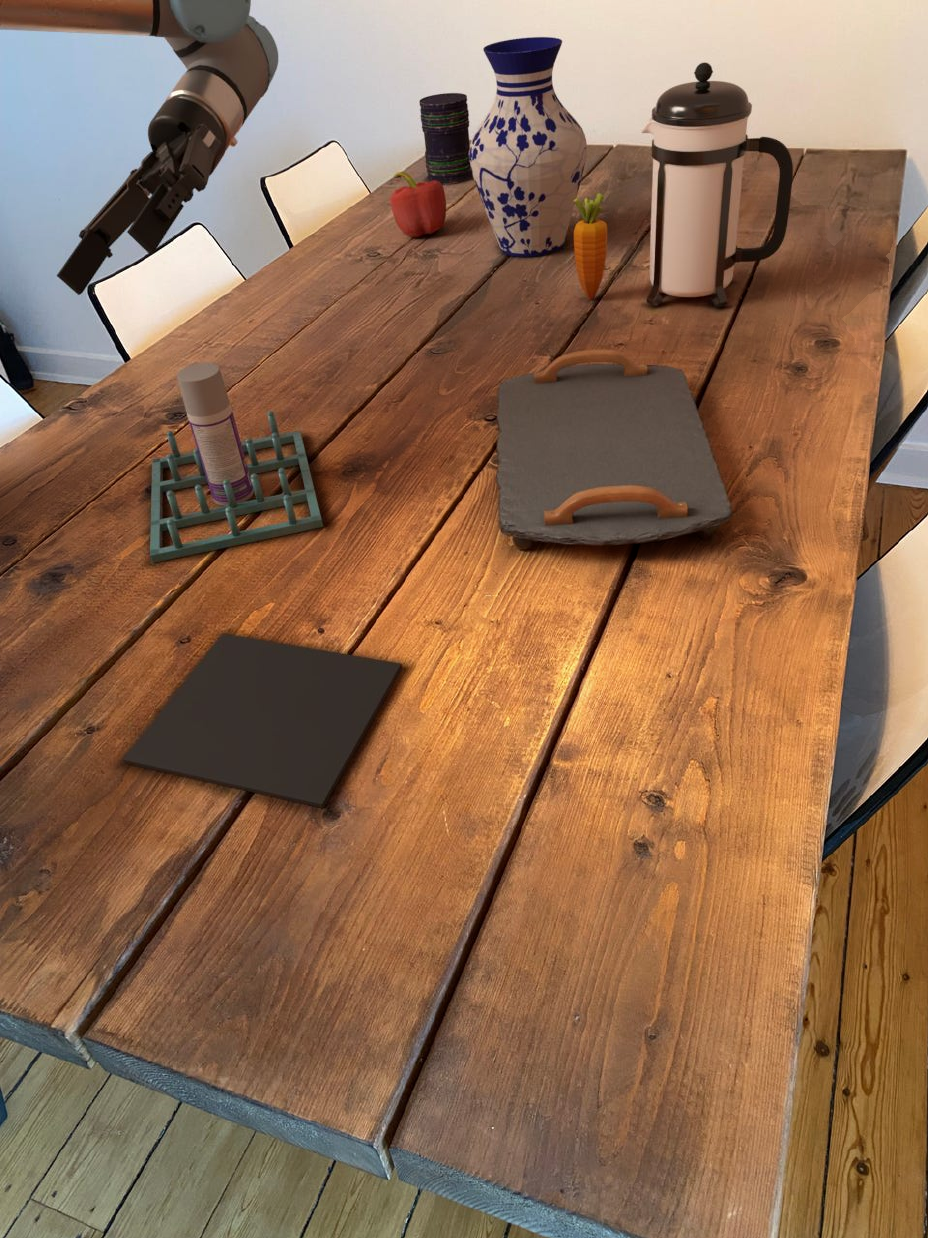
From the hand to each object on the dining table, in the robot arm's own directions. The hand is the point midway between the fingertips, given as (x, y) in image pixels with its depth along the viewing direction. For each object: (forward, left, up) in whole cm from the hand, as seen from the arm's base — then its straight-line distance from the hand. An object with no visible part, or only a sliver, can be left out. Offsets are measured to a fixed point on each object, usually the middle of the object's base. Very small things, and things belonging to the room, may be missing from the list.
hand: (103, 264), depth 92 cm
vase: (+13, +84, -26) cm, 89 cm away
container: (+7, +1, -26) cm, 27 cm away
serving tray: (+45, +18, -26) cm, 55 cm away
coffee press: (+45, +68, -26) cm, 86 cm away
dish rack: (+7, +1, -26) cm, 27 cm away
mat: (+30, -28, -26) cm, 48 cm away
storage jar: (-19, +122, -26) cm, 127 cm away
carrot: (+30, +63, -26) cm, 75 cm away
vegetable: (-10, +88, -26) cm, 93 cm away
